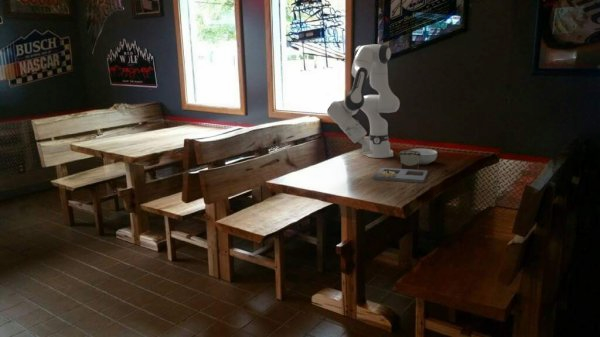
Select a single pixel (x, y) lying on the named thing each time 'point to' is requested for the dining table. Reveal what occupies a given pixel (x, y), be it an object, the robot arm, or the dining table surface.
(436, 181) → the dining table surface
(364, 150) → the gear shaft
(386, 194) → the dining table surface
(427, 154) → the cereal bowl
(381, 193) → the dining table surface
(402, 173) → the gear board
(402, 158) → the food container
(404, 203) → the dining table surface
